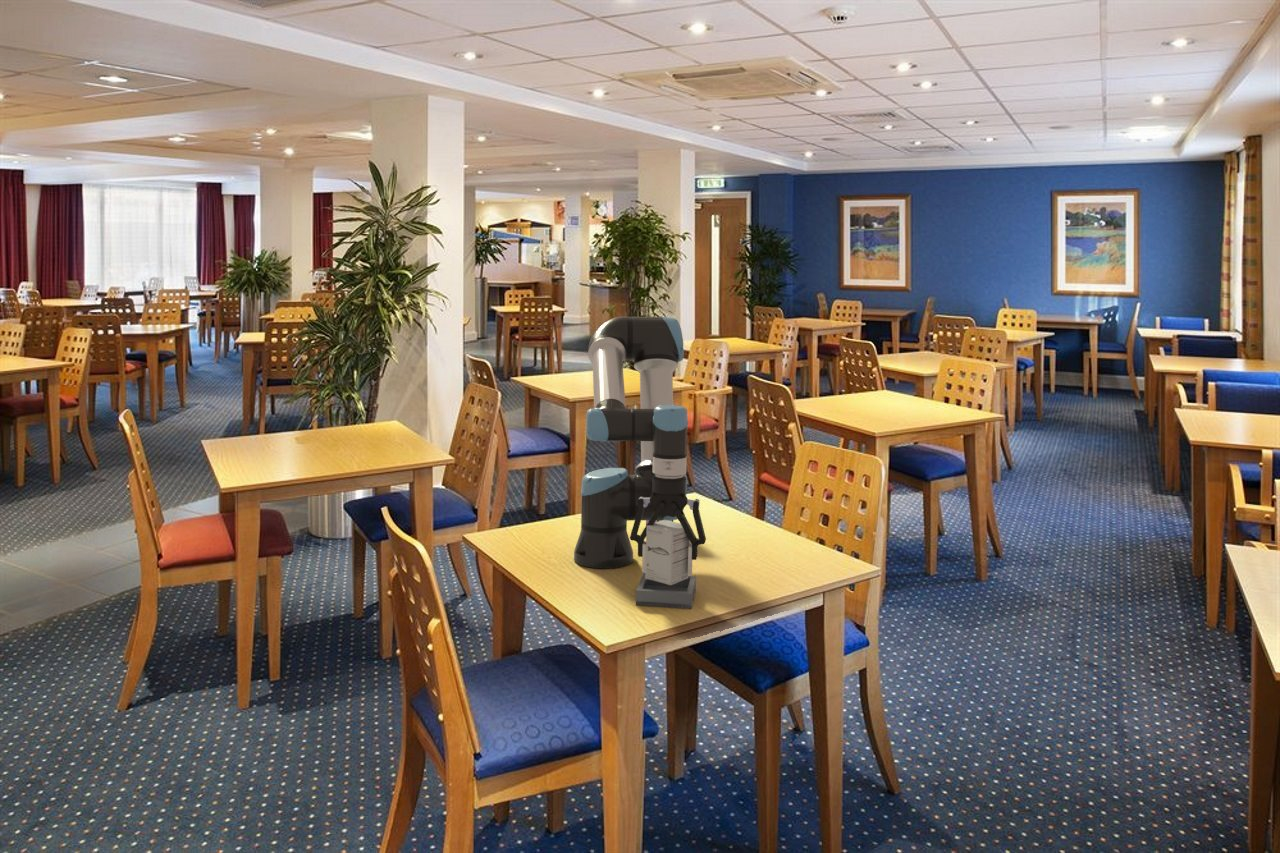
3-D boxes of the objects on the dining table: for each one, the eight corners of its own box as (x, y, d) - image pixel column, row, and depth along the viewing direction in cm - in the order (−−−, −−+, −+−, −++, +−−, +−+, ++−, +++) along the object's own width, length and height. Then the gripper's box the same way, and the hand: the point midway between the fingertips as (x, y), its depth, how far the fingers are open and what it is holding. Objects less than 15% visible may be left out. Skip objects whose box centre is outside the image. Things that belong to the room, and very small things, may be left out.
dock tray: (635, 605, 209) (635, 590, 208) (643, 587, 221) (643, 572, 220) (691, 609, 207) (691, 593, 206) (695, 590, 219) (696, 575, 219)
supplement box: (644, 579, 212) (645, 525, 210) (663, 571, 218) (664, 518, 216) (670, 586, 208) (671, 531, 206) (689, 578, 214) (691, 524, 212)
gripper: (617, 476, 207) (615, 574, 211) (718, 481, 204) (715, 580, 208) (622, 469, 214) (621, 564, 218) (720, 473, 211) (717, 569, 215)
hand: (667, 571), depth 213 cm, fingers closed on supplement box, 10 cm apart
